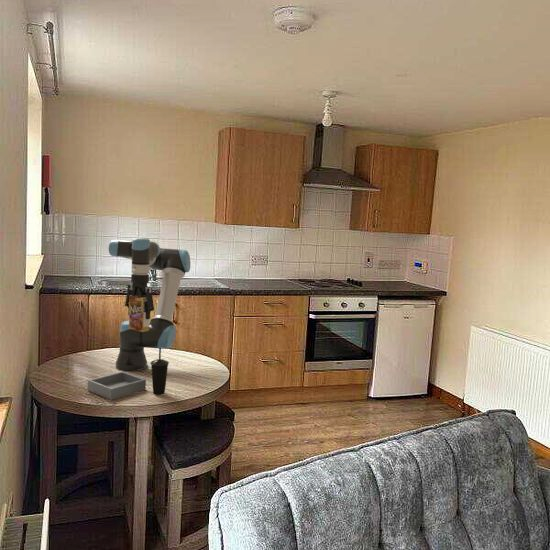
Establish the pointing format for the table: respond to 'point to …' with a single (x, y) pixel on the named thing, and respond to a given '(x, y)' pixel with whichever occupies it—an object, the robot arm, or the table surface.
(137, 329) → the candy box
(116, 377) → the tray
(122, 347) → the robot arm
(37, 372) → the table surface
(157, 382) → the drinking cup
